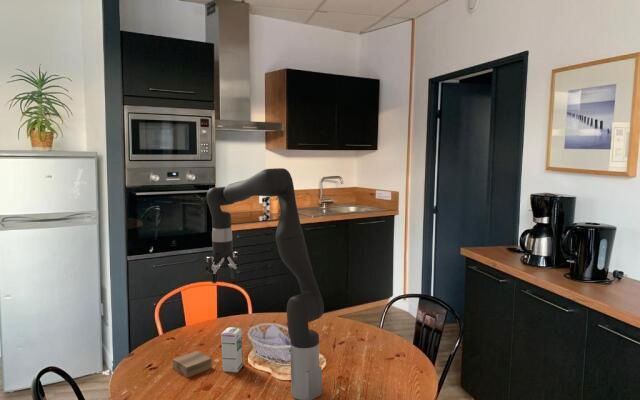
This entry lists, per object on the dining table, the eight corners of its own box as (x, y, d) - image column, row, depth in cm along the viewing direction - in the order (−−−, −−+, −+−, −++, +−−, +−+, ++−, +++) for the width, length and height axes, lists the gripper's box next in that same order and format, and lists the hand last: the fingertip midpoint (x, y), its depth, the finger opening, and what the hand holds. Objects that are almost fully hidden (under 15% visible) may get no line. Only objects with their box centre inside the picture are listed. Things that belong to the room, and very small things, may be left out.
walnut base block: (211, 368, 173) (211, 358, 173) (187, 378, 166) (186, 367, 166) (197, 360, 180) (196, 350, 180) (173, 369, 173) (172, 359, 173)
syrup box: (237, 372, 169) (236, 333, 168) (222, 371, 170) (220, 332, 169) (243, 365, 175) (242, 327, 173) (228, 364, 176) (227, 326, 174)
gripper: (211, 243, 173) (213, 286, 175) (243, 237, 183) (244, 278, 185) (200, 240, 178) (202, 282, 180) (232, 235, 188) (233, 275, 190)
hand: (223, 280), depth 182 cm, fingers open, 8 cm apart
